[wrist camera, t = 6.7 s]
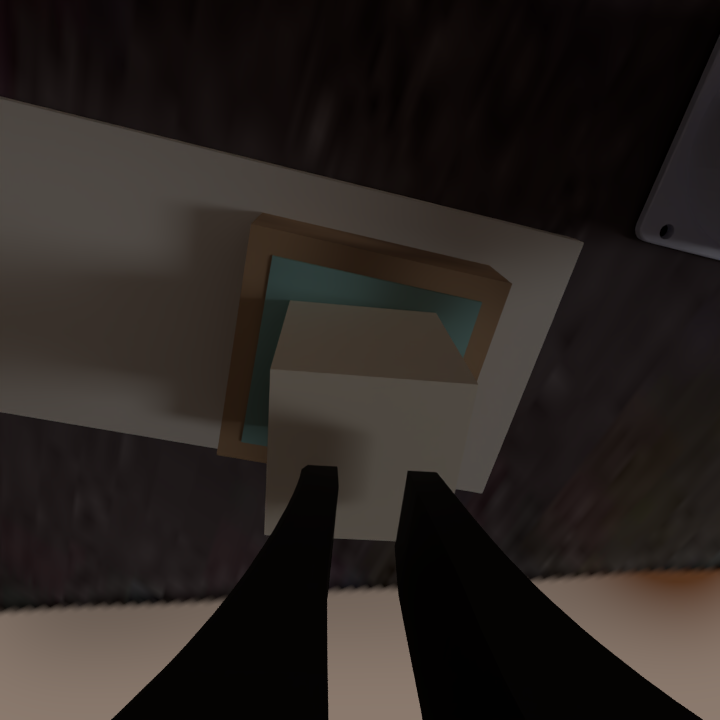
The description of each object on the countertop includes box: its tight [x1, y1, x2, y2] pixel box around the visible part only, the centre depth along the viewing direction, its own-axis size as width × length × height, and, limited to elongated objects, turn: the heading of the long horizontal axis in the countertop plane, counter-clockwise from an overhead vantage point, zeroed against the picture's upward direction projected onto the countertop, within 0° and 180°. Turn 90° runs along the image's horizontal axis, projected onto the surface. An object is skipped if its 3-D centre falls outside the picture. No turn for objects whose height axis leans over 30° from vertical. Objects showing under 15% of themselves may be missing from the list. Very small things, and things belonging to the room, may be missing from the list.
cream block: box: [264, 300, 478, 541], centre depth 14 cm, size 4×4×5 cm
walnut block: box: [217, 213, 512, 463], centre depth 17 cm, size 8×8×3 cm
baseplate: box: [0, 96, 584, 493], centre depth 19 cm, size 20×11×1 cm, turn 77°
